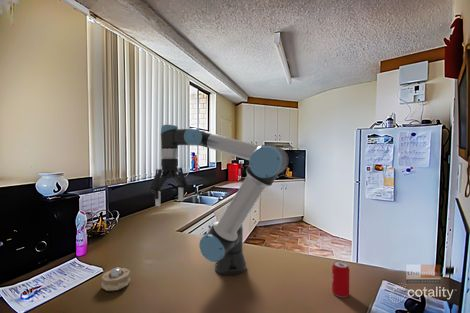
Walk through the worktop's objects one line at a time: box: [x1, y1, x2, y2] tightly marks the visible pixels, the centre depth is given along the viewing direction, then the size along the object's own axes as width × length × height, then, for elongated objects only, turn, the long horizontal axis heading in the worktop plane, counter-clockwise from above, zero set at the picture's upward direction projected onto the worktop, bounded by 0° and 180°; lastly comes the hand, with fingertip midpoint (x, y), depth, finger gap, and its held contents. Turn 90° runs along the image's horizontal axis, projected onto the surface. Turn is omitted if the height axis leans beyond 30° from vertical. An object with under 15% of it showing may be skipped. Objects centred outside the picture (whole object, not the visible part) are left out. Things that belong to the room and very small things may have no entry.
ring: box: [101, 267, 131, 292], centre depth 102 cm, size 10×10×4 cm
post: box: [109, 266, 125, 292], centre depth 102 cm, size 8×8×7 cm
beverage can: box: [331, 260, 350, 299], centre depth 96 cm, size 6×6×12 cm
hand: (170, 203), depth 115 cm, fingers open, 13 cm apart
